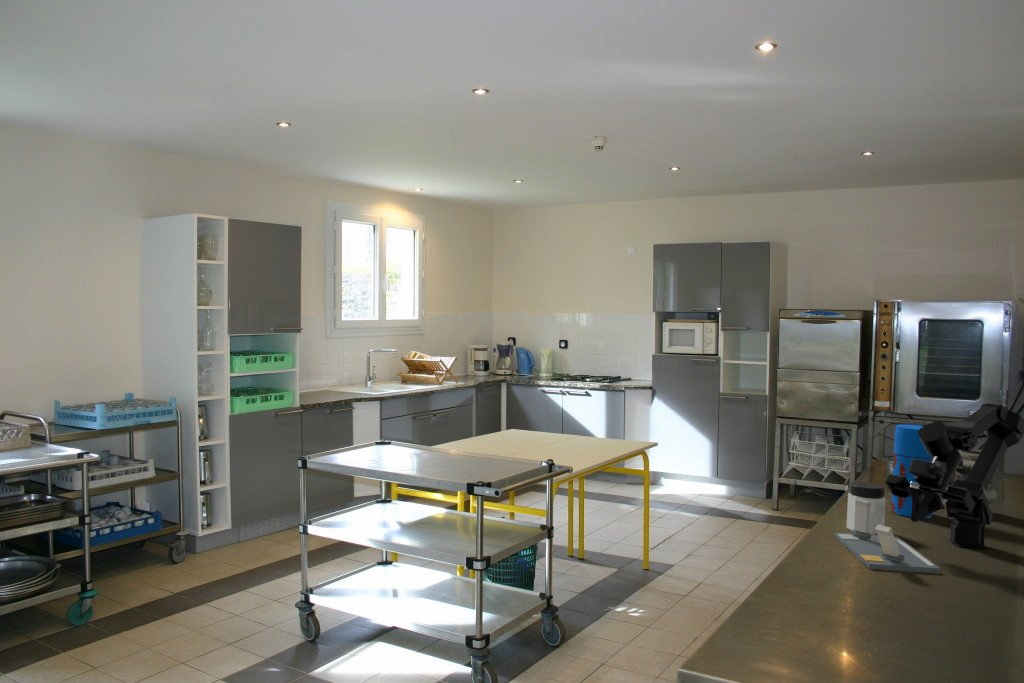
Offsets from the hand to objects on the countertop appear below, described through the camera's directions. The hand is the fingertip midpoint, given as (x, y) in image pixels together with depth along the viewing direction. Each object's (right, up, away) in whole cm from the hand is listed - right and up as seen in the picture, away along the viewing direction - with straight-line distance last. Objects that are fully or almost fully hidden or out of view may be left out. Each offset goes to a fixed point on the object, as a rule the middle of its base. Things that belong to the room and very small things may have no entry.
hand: (913, 521), depth 181 cm
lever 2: (-6, -7, -4) cm, 10 cm away
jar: (0, -8, +25) cm, 27 cm away
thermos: (+22, -8, +45) cm, 51 cm away
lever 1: (-6, -6, +13) cm, 16 cm away
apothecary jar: (+42, -9, +49) cm, 65 cm away
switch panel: (-5, -9, +5) cm, 11 cm away
